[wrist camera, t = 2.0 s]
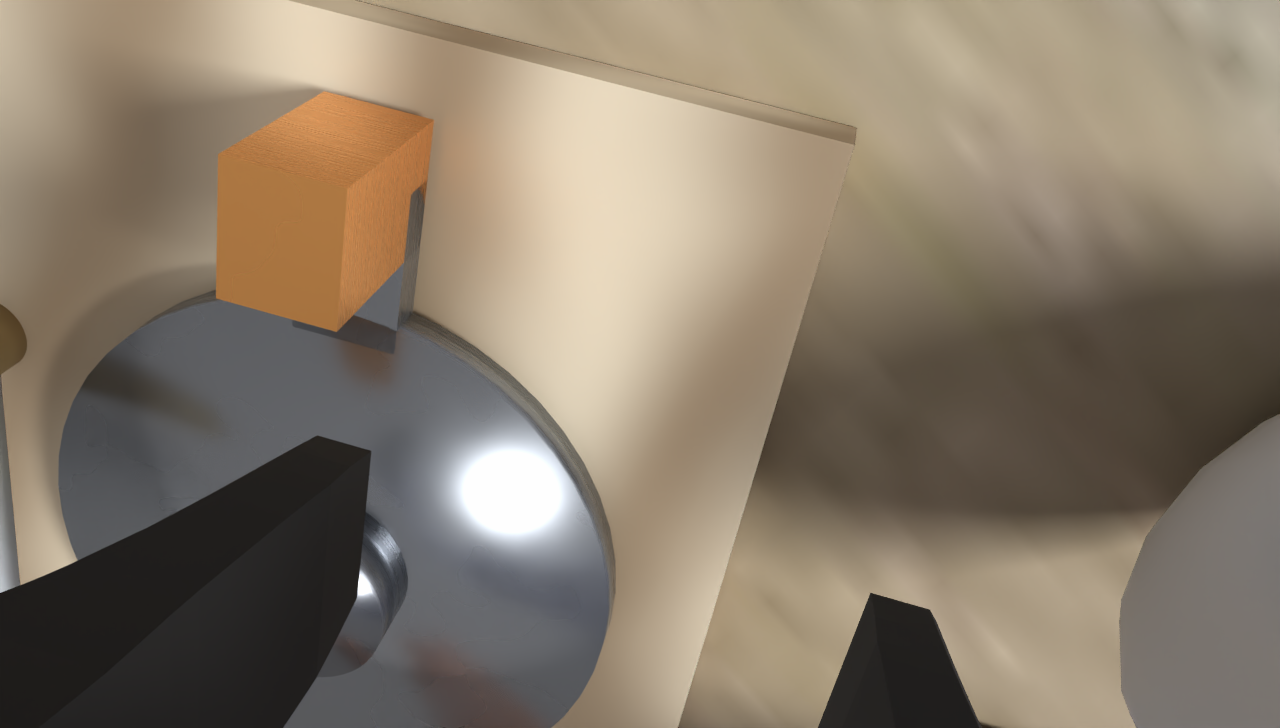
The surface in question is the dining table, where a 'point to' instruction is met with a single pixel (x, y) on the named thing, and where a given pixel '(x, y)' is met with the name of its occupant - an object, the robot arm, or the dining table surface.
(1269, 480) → the donut
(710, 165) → the board
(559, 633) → the flange plate
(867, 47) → the dining table surface
